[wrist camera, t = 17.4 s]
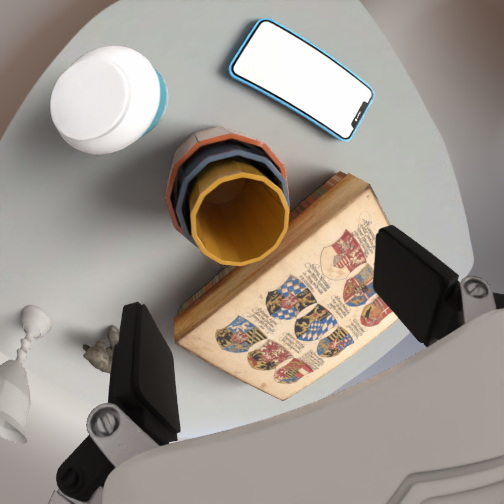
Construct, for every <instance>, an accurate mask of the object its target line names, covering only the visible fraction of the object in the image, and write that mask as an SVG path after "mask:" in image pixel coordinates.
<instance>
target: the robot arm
mask: <svg viewBox="0 0 504 504" xmlns="http://www.w3.org/2000/svg"><path fill="white" fill-rule="evenodd" d="M458 277H459V275H458V274H457V273H455V272H454V271H453V270H452V269H450V268H449V267H448V266H447V265H445V264H444V263H443V262H442V261H440V260H439V259H438V258H437V257H435V256H434V255H433V254H431V253H430V252H429V251H428V250H426V249H425V248H424V247H422V246H421V245H420V244H418V243H417V242H416V241H414V240H413V239H412V238H410V237H409V236H407V235H406V234H405V233H403V232H402V231H401V230H399V229H398V228H396V227H395V226H393V225H389V226H386V227H383V228H380V229H379V231H378V233H377V234H376V241H375V260H374V274H373V289H374V291H375V292H376V294H377V295H378V296H379V297H380V298H381V299H382V300H383V301H384V302H385V303H386V305H387V306H388V307H389V308H390V309H391V310H392V311H393V312H394V314H395V315H396V316H397V317H398V318H399V319H400V320H401V322H402V323H403V324H404V325H405V326H406V327H407V328H408V330H409V331H410V332H411V333H412V334H413V335H414V337H415V338H416V339H417V340H418V341H419V342H421V343H424V345H425V346H426V347H427V348H425V349H424V350H422V351H420V352H419V353H417V354H415V355H414V356H411V357H410V358H408V359H406V360H404V361H403V362H401V363H399V364H397V365H395V366H393V367H391V368H389V369H387V370H385V371H383V372H381V373H379V374H377V375H375V376H373V377H371V378H369V379H367V380H365V381H363V382H361V383H359V384H356V385H354V386H352V387H350V388H347V389H345V390H343V391H341V392H338V393H336V394H333V395H331V396H329V397H326V398H324V399H321V400H319V401H316V402H313V403H311V404H308V405H306V406H303V407H300V408H297V409H295V410H292V411H289V412H286V413H283V414H280V415H277V416H274V417H271V418H268V419H265V420H261V421H258V422H255V423H251V424H248V425H244V426H240V427H237V428H233V429H229V430H226V431H222V432H218V433H214V434H210V435H205V436H201V437H197V438H192V439H188V440H184V441H180V442H175V443H171V444H169V442H172V441H177V440H178V439H177V433H179V432H180V421H179V413H178V404H177V394H176V384H175V372H174V360H173V355H172V352H171V350H170V348H169V346H168V345H167V343H166V341H165V340H164V338H163V336H162V334H161V333H160V331H159V329H158V327H157V325H156V324H155V322H154V320H153V318H152V316H151V315H150V313H149V311H148V309H147V307H146V305H145V304H143V305H141V304H140V303H139V302H135V303H132V304H128V305H125V306H124V307H123V313H122V319H121V326H120V333H119V340H118V343H117V344H115V345H114V349H113V356H112V365H111V374H110V384H109V396H108V403H104V404H101V405H98V406H97V407H96V408H94V409H93V410H92V411H91V413H90V414H89V416H88V418H87V424H86V426H87V431H88V433H89V436H88V437H87V438H86V439H85V440H84V441H83V442H82V443H81V444H80V445H79V447H77V448H76V449H75V451H74V452H73V453H72V454H71V455H70V456H69V457H68V458H67V459H66V460H65V462H63V464H61V466H60V467H59V469H58V471H57V475H56V481H57V485H58V487H59V489H58V491H55V490H54V492H53V494H52V496H51V498H50V500H49V502H48V504H504V294H498V293H492V289H491V287H490V285H489V284H488V283H487V282H486V281H485V280H483V279H482V278H480V277H476V276H467V277H465V278H463V279H462V281H461V282H459V281H458ZM437 340H438V341H437Z"/></svg>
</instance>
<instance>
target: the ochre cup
mask: <svg viewBox="0 0 504 504" xmlns="http://www.w3.org/2000/svg"><path fill="white" fill-rule="evenodd" d="M188 199H189V211H190V222H191V232H192V237H193V239H194V241H195V242H196V244H197V245H198V247H199V249H200V250H201V252H202V253H203V254H204V255H206V256H207V257H209V258H211V259H213V260H214V261H216V262H218V263H219V264H224V265H233V266H244V265H247V264H251V263H254V262H257V261H261V260H262V259H264V258H265V257H266V256H267V255H269V254H270V253H271V252H272V251H274V250H275V249H276V248H277V247H278V246H279V244H280V242H281V241H282V239H283V237H284V235H285V234H286V232H287V230H288V222H289V207H288V204H287V202H286V199H285V197H284V194H283V192H282V190H281V189H280V188H279V187H277V186H276V185H275V184H274V183H273V182H272V181H271V180H270V179H268V178H267V177H266V176H265V175H264V174H263V173H261V172H260V171H259V170H258V169H257V168H256V167H254V166H253V165H252V164H251V163H250V162H249V161H247V160H246V159H245V158H244V157H243V156H239V155H236V156H232V157H228V158H224V159H220V160H216V161H213V162H209V163H208V164H207V165H206V166H205V167H204V168H203V169H202V170H201V171H200V172H199V173H198V174H197V175H196V176H195V177H194V178H193V179H192V180H191V181H190V182H189V183H188Z"/></svg>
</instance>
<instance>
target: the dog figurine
mask: <svg viewBox="0 0 504 504" xmlns="http://www.w3.org/2000/svg"><path fill="white" fill-rule="evenodd" d="M110 330H111V331H110V332H109V334H108V339H109V341H110V346H111V347H108V348H106V349H105V344H104V342H103V341H101V340H99V341H97V343H96V344H95V345H94V346H91V347H89V346H88V345H86V344H84V345H83V349H84V350H85V351H86V353H85V354H84V355H83V356H84V358H86V359H87V360H88V361H89V362H90V363H91V364H92V365H93V366H94V367H95V368H97V369H99V370H101V371H102V372H107V373H110V374H111V365H112V356H113V349H114V345H115V344H117V343H118V340H119V333H120V332H119V330H118V329H117V328H116V327H114V326H111V327H110Z"/></svg>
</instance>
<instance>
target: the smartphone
mask: <svg viewBox="0 0 504 504" xmlns="http://www.w3.org/2000/svg"><path fill="white" fill-rule="evenodd" d="M228 72H229V75H230V76H231V77H232V78H234V79H236V80H238V81H240V82H242V83H244V84H246V85H248V86H250V87H251V88H253V89H255V90H257V91H259V92H261V93H263V94H265V95H266V96H268V97H270V98H272V99H274V100H275V101H277V102H279V103H281V104H283V105H284V106H286V107H288V108H289V109H291V110H293V111H294V112H296V113H298V114H299V115H301V116H303V117H304V118H306V119H308V120H309V121H311V122H312V123H314V124H315V125H317V126H319V127H320V128H322V129H323V130H325V131H326V132H328V133H329V134H331V135H332V136H334V137H335V138H337V139H338V140H341V141H349V140H351V138H352V137H353V135H354V133H355V131H356V130H357V128H358V126H359V124H360V122H361V121H362V119H363V117H364V115H365V113H366V112H367V110H368V108H369V106H370V104H371V102H372V100H373V99H374V91H373V89H372V88H371V87H370V86H369V85H368V84H367V83H366V82H364V81H363V80H362V79H361V78H359V77H358V76H357V75H356V74H354V73H353V72H352V71H350V70H349V69H348V68H346V67H345V66H344V65H342V64H341V63H340V62H338V61H337V60H336V59H334V58H333V57H331V56H330V55H329V54H327V53H326V52H324V51H323V50H321V49H320V48H318V47H317V46H315V45H314V44H312V43H311V42H309V41H307V40H306V39H304V38H303V37H301V36H299V35H298V34H296V33H294V32H293V31H291V30H289V29H288V28H286V27H284V26H282V25H281V24H279V23H277V22H275V21H273V20H272V19H269V18H263V19H260V20H259V21H258V22H257V23H256V24H255V26H254V27H253V29H252V30H251V32H250V33H249V35H248V36H247V38H246V39H245V41H244V42H243V44H242V45H241V47H240V49H239V50H238V52H237V53H236V55H235V57H234V58H233V60H232V62H231V63H230V65H229V67H228Z"/></svg>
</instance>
